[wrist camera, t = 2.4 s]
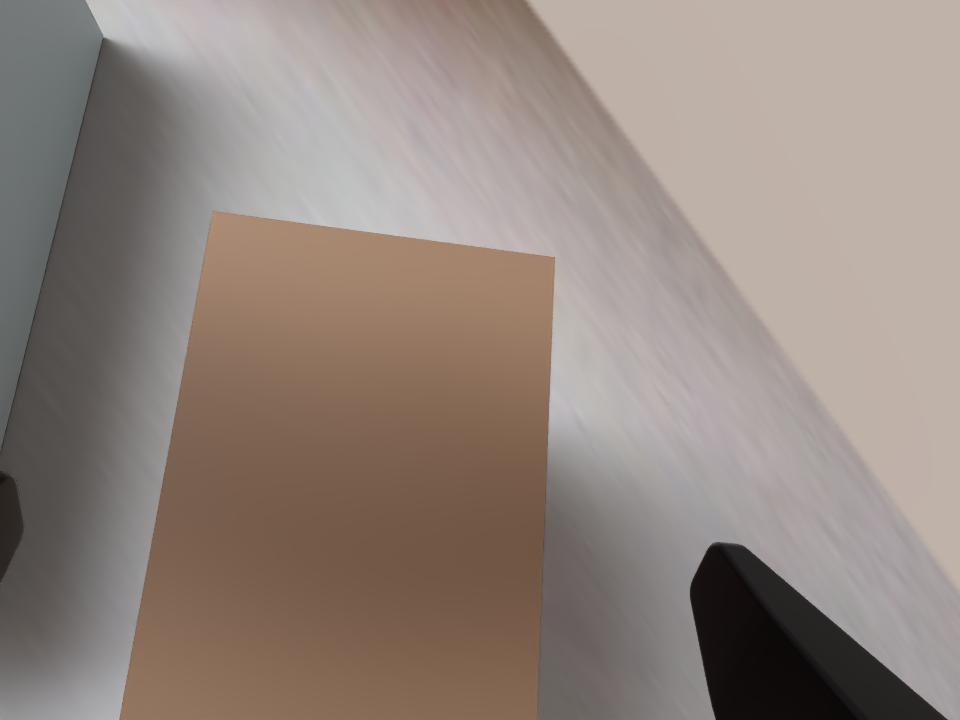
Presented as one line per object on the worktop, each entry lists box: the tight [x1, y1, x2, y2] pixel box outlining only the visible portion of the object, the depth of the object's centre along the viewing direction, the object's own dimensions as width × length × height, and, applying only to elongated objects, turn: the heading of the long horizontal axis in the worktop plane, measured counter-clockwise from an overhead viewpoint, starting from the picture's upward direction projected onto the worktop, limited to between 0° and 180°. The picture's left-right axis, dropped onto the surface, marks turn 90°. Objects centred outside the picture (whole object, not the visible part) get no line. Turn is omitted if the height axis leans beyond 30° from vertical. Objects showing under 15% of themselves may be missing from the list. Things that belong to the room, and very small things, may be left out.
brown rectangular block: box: [119, 211, 555, 720], centre depth 11 cm, size 8×4×9 cm, turn 176°
